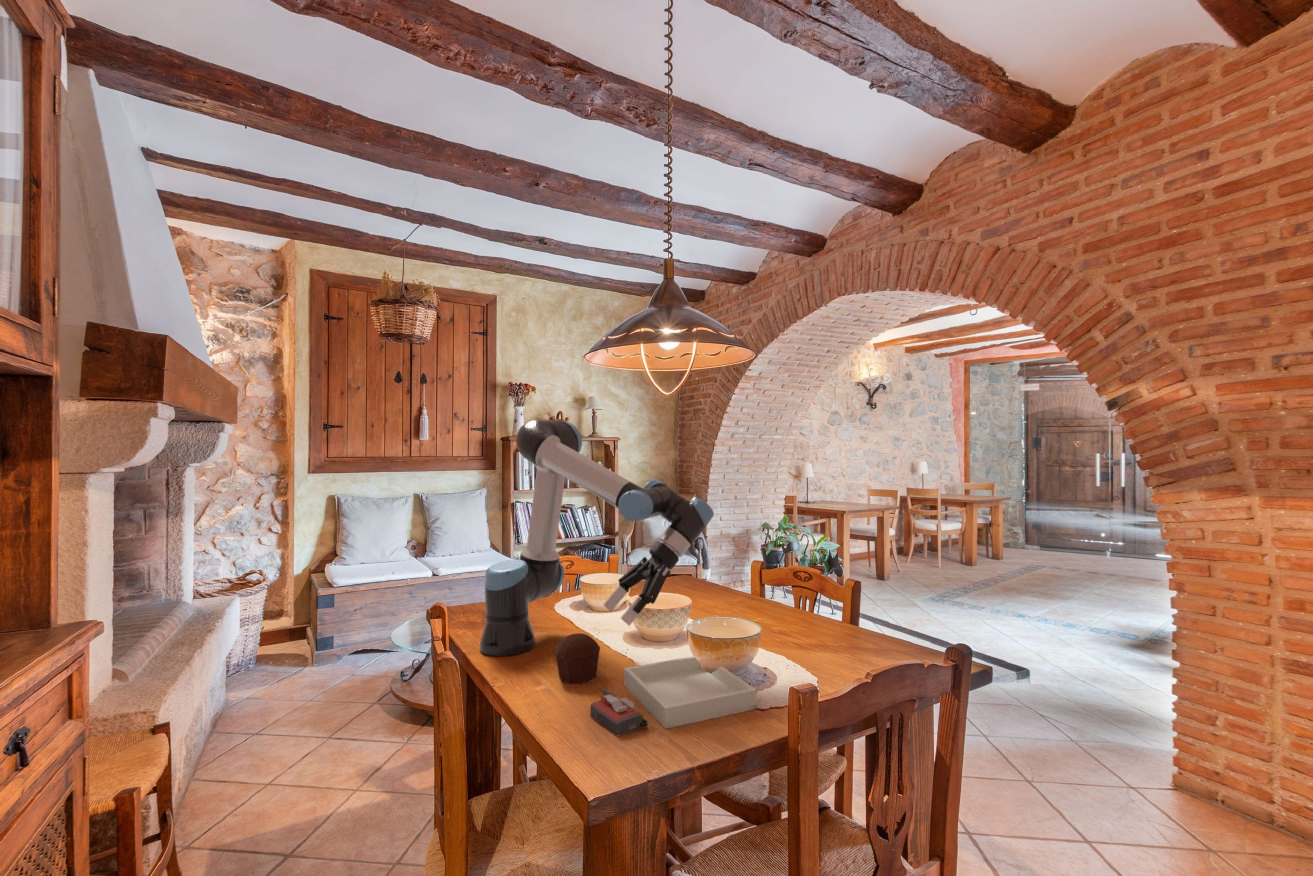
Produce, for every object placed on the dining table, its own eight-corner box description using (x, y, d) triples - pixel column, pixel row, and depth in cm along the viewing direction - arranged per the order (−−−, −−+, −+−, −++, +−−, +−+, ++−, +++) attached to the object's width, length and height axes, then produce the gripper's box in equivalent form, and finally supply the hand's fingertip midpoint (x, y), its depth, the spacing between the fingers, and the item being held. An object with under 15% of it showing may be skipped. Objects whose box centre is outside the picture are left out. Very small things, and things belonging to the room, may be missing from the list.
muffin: (598, 686, 142) (597, 643, 142) (550, 687, 142) (550, 644, 142) (602, 667, 154) (601, 627, 154) (558, 668, 154) (558, 629, 154)
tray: (624, 685, 142) (624, 668, 142) (704, 670, 150) (704, 654, 150) (665, 728, 120) (665, 708, 120) (756, 708, 128) (756, 689, 128)
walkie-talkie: (657, 728, 121) (607, 695, 137) (656, 706, 121) (607, 675, 137) (619, 741, 116) (572, 705, 132) (618, 718, 116) (572, 685, 132)
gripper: (700, 567, 147) (644, 638, 141) (659, 551, 170) (609, 612, 164) (679, 547, 145) (622, 618, 139) (641, 533, 168) (590, 594, 162)
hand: (615, 615), depth 151 cm, fingers open, 13 cm apart
